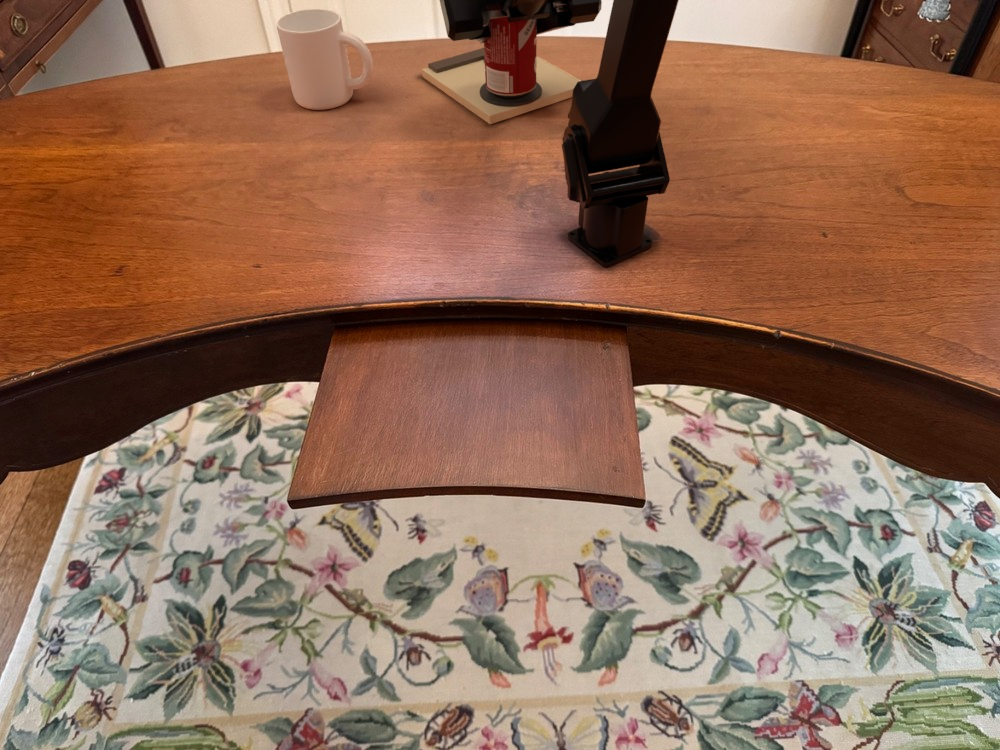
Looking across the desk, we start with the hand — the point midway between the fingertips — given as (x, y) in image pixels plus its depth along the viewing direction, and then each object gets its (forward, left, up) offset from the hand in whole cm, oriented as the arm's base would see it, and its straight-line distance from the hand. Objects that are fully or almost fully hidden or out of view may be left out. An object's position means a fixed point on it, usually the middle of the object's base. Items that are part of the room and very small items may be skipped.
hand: (507, 35), depth 92 cm
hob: (+4, -2, -8) cm, 9 cm away
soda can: (-1, 0, -7) cm, 7 cm away
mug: (+14, +19, -8) cm, 25 cm away
